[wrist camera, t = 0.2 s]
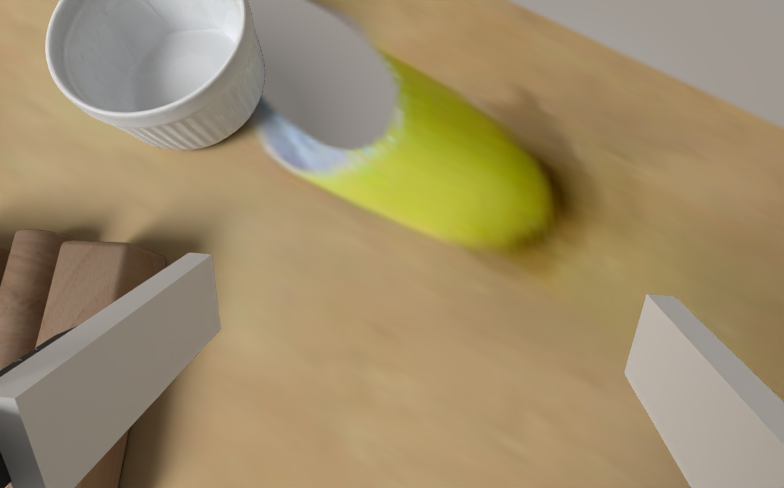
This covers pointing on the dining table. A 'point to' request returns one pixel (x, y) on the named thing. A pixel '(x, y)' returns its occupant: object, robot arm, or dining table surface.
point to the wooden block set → (66, 302)
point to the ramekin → (159, 66)
